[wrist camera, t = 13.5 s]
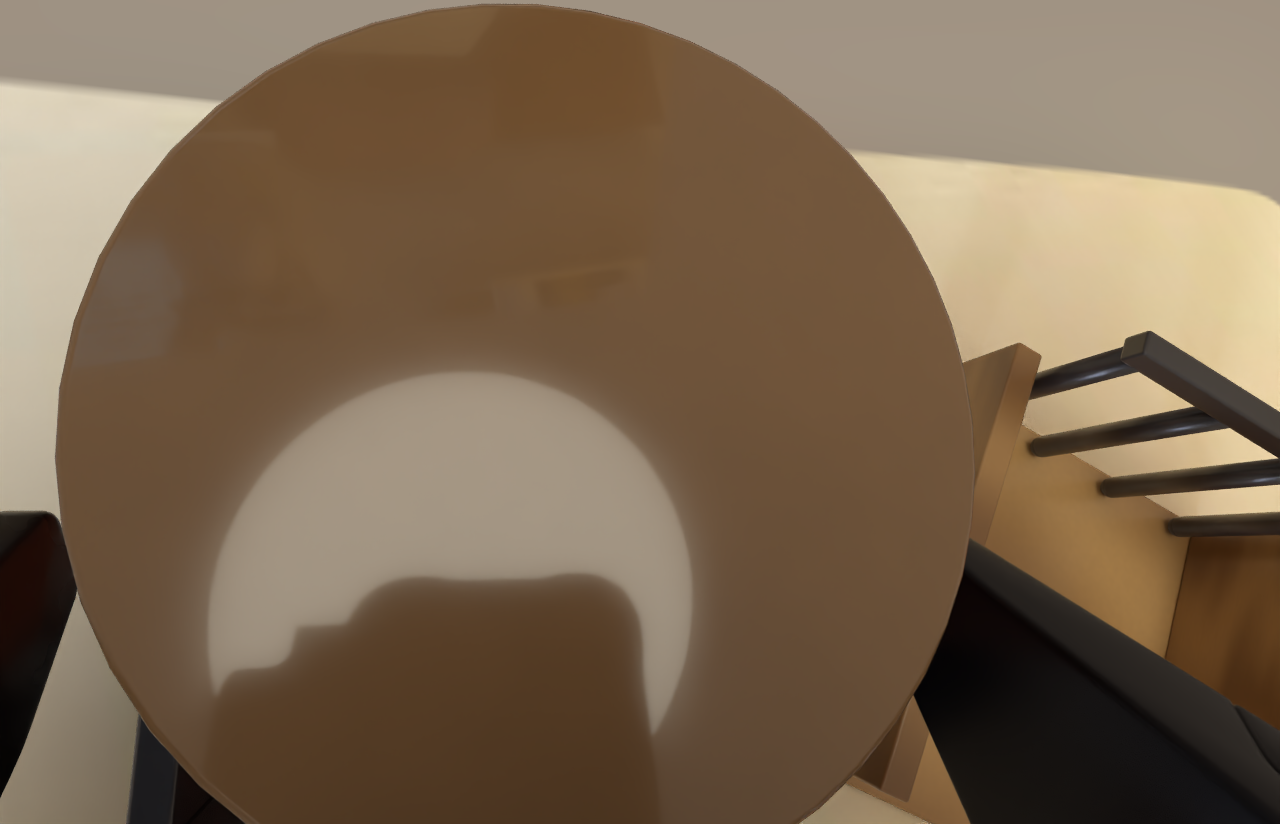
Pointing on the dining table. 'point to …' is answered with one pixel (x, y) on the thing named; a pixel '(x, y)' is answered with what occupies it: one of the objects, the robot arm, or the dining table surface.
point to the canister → (514, 437)
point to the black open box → (167, 789)
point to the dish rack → (1116, 538)
